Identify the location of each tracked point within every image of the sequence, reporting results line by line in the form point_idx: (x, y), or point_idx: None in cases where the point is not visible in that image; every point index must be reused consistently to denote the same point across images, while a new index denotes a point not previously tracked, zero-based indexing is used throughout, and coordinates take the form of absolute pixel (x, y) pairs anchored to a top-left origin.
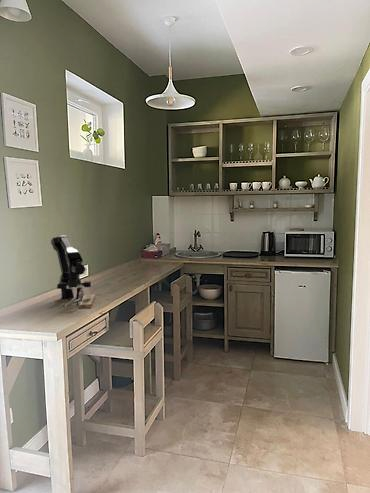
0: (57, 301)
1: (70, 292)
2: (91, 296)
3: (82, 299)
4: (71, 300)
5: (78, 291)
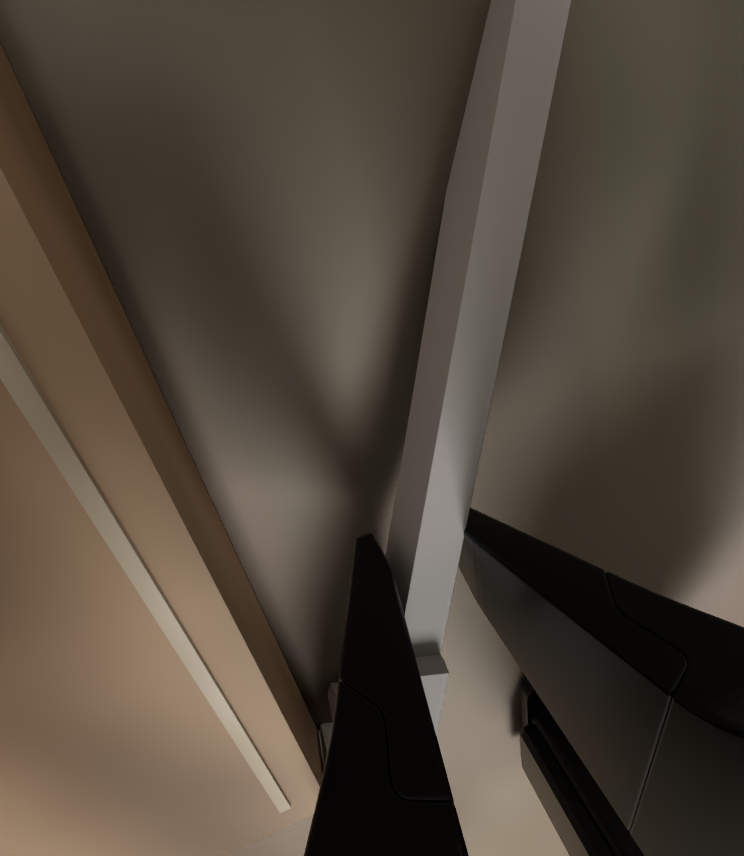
0: (704, 491)
1: (705, 626)
2: (44, 801)
3: (122, 479)
4: (469, 347)
5: (363, 824)
